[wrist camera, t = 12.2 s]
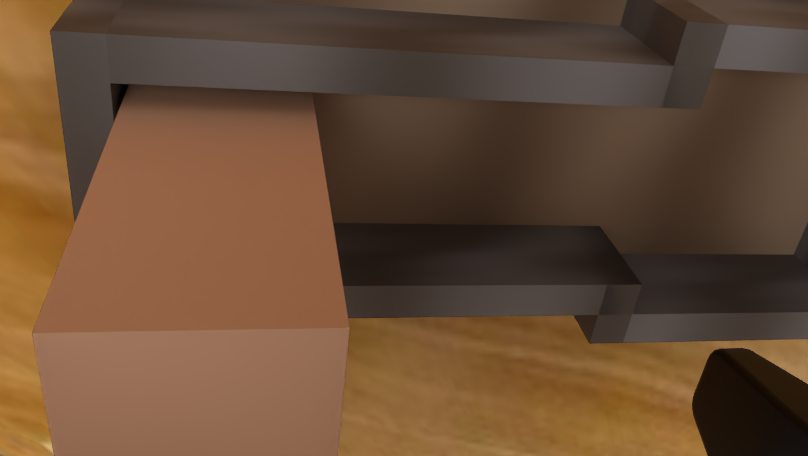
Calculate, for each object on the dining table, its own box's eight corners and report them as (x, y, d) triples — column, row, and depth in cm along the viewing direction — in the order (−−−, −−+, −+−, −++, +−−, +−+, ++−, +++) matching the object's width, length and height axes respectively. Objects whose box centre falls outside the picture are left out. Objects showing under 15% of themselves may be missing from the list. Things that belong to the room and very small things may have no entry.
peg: (308, 70, 19) (349, 328, 10) (301, 211, 21) (331, 521, 12) (138, 61, 18) (32, 333, 10) (148, 208, 20) (69, 538, 12)
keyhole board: (916, -18, 21) (1039, 24, 18) (785, 274, 26) (862, 350, 23) (82, -91, 17) (39, -52, 14) (118, 276, 22) (93, 369, 19)
